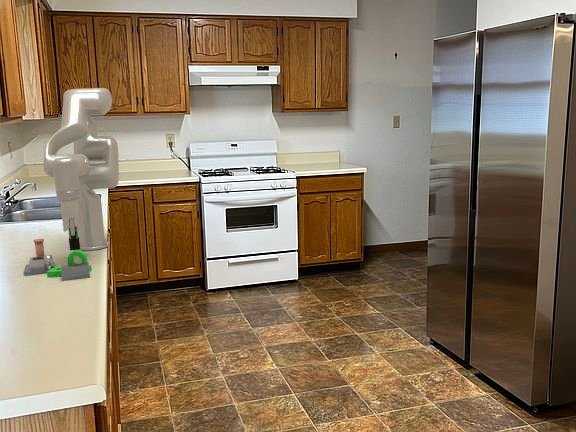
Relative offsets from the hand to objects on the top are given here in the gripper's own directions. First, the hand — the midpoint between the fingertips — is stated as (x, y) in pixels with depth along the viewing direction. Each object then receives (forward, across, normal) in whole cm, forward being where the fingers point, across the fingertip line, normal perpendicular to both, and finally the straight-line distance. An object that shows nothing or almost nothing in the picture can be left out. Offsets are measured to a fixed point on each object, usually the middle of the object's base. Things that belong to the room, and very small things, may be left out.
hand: (75, 249), depth 191 cm
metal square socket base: (+5, +2, -11) cm, 13 cm away
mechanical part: (+5, +11, -2) cm, 12 cm away
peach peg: (+6, -6, -11) cm, 14 cm away
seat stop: (+5, +16, 0) cm, 17 cm away
